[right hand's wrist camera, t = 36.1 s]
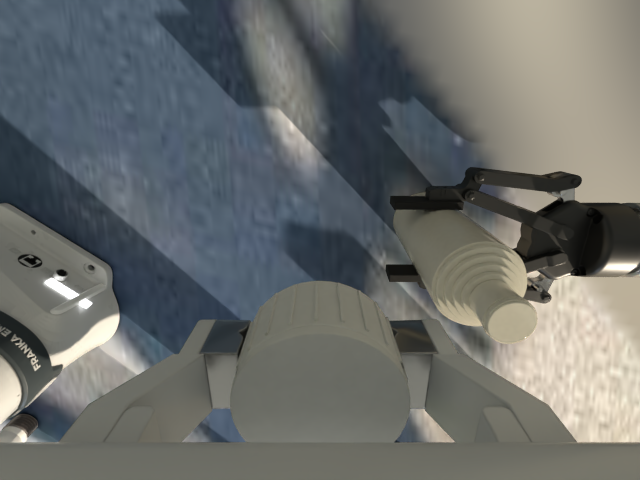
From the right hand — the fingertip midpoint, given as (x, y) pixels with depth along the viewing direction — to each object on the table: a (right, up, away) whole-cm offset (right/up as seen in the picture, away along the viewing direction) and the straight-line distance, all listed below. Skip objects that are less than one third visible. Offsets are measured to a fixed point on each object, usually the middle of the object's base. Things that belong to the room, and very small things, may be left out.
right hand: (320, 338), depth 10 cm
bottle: (+12, +5, +31) cm, 34 cm away
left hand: (+7, +3, +25) cm, 26 cm away
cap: (0, -1, -2) cm, 2 cm away
